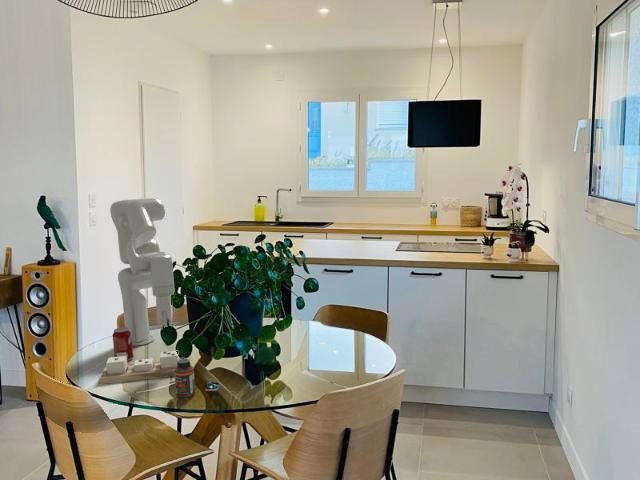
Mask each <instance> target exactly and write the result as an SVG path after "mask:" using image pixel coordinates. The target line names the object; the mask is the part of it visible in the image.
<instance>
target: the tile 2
mask: <svg viewBox="0 0 640 480" xmlns="http://www.w3.org/2000/svg"><path fill="white" fill-rule="evenodd" d="M153 361H154V358H153V357H151V358H143V359H141V358H140V359H136V360H135V361H134V363H135V364H134V372H136V371H145V370H153V368H154V365H153Z"/></svg>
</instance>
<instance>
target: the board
mask: <svg viewBox="0 0 640 480" xmlns="http://www.w3.org/2000/svg"><path fill="white" fill-rule="evenodd" d="M180 358H181V357H179V360H180ZM134 364H135V362H129V363H127V369H126V372H123V373H114V374H107V365H105V366H104V368H103V371H102V373H101V375H100V377H99V384H100V385H104V384H112V383H121V382H131V381H139V380H140V381H141V380H146V379H147V380H148V379H157V378H165V376H167V377H173V376H174V377H175V368H176V367H169V368H161V363H160V359H158V360H153V365H154V368H153V370H145V371H136V372H134Z"/></svg>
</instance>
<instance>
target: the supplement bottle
mask: <svg viewBox="0 0 640 480" xmlns="http://www.w3.org/2000/svg"><path fill="white" fill-rule="evenodd" d="M177 366H178V367H176V368H175V376H174V381H175V394H176V396H177V397H178V398H181V399H184V398H185V399H187V398H190V397H191V398H192V397H193V396H194V395H195V394H196V385H195V381H196V380H195V370H194V367H193V365H191V359H189V358H185V359H180V360H178V361H177Z"/></svg>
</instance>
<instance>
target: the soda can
mask: <svg viewBox="0 0 640 480" xmlns="http://www.w3.org/2000/svg"><path fill="white" fill-rule="evenodd" d="M112 344H113V352H114V353H113V354H114V357H120V356H126V357H127V362H129V361H131V360H132V359H133V358H134V349H133V347H134V346H132V336H131V332H130V331H129V328H127V327H125V326H124V327H123V326H122V327H117V328H114V330H113V334H112Z"/></svg>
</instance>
